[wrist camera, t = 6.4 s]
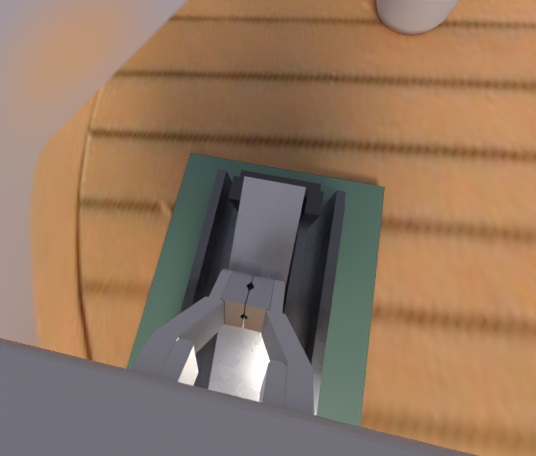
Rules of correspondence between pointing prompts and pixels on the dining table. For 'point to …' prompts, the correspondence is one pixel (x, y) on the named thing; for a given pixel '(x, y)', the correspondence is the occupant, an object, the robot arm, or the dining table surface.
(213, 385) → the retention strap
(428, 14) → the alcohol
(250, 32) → the dining table surface
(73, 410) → the robot arm
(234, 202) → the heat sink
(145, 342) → the circuit board
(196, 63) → the dining table surface
